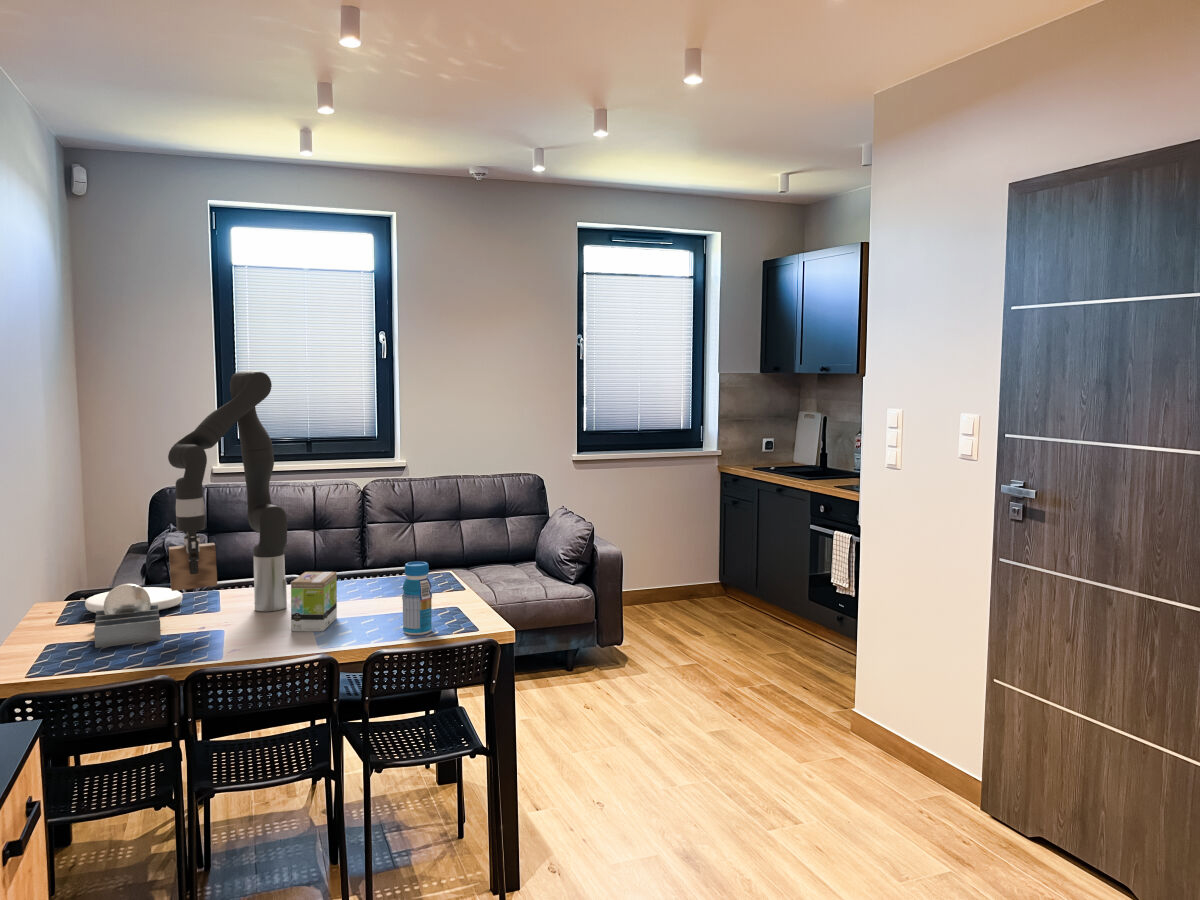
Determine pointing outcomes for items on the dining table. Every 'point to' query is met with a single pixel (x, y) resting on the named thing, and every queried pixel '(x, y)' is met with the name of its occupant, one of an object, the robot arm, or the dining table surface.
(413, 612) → the beverage bottle
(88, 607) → the plate
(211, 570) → the walnut board
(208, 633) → the dining table surface
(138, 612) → the dish rack
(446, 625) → the dining table surface
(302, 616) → the tea box
